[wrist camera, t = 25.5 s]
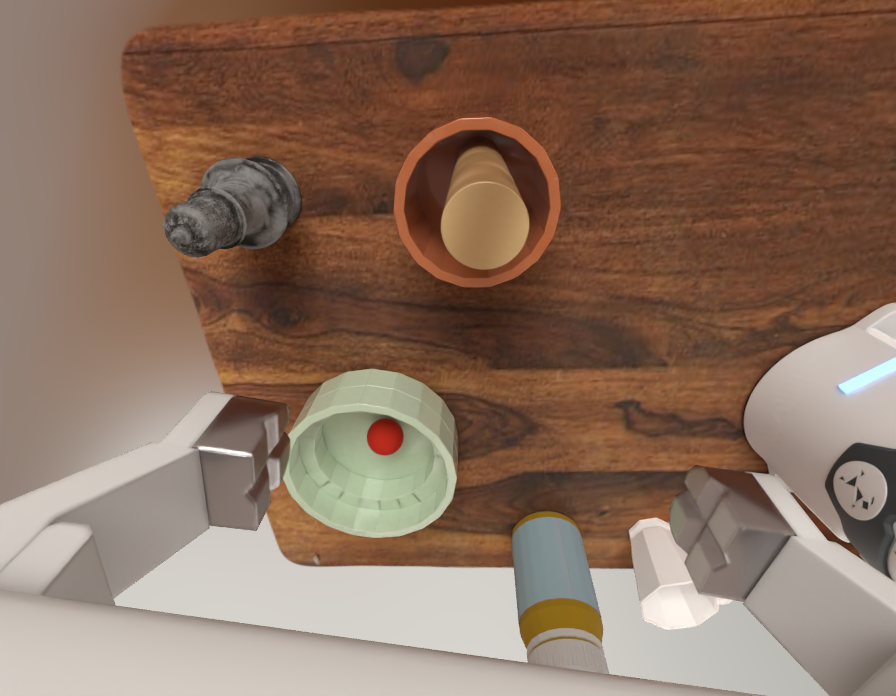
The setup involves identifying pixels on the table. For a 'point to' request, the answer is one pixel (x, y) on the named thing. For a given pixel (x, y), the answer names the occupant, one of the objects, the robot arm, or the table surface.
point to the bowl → (373, 455)
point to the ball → (385, 436)
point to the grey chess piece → (235, 207)
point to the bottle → (556, 594)
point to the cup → (666, 579)
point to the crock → (429, 185)
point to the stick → (483, 209)
